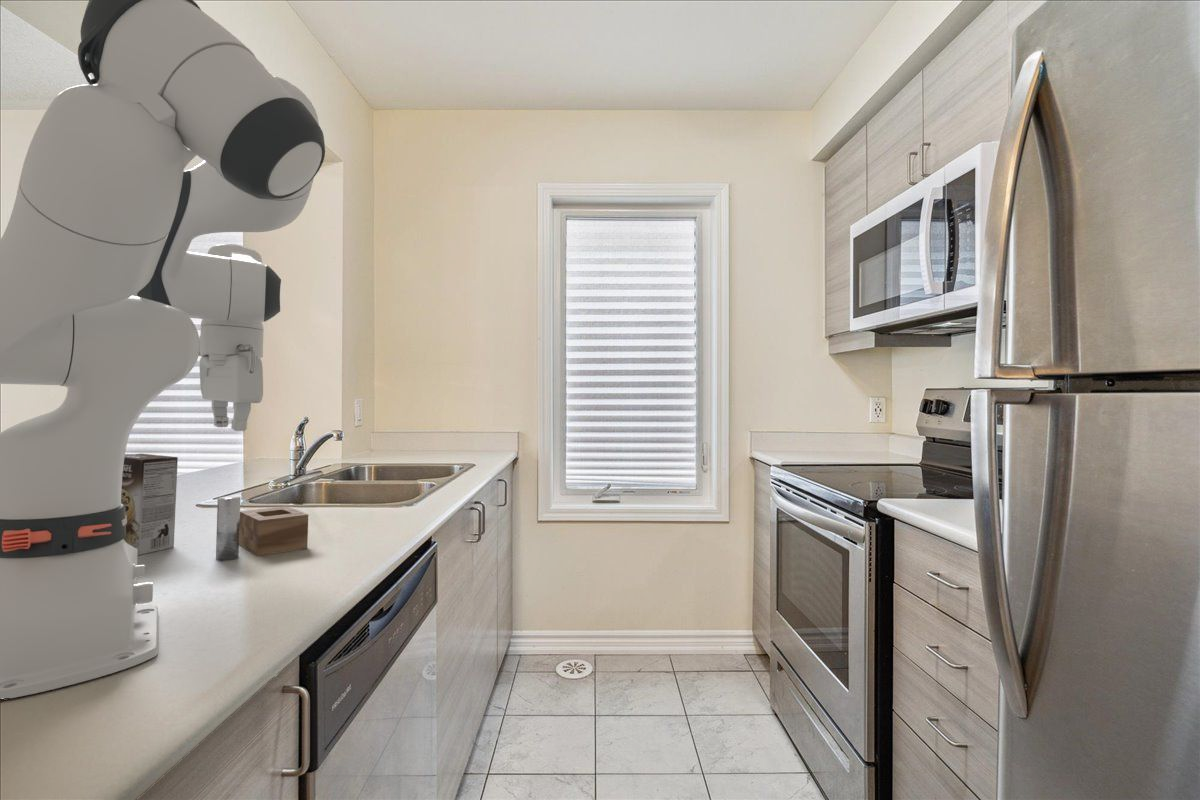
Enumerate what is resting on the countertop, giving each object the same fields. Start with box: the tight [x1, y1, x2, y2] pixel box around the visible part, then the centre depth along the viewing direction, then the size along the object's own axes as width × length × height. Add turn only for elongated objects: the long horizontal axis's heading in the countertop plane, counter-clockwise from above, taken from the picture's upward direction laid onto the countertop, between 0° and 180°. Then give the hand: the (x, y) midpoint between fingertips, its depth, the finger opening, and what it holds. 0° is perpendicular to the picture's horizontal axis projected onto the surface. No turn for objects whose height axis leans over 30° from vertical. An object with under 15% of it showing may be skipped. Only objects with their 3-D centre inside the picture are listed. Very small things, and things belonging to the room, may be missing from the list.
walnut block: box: [239, 505, 309, 557], centre depth 104 cm, size 10×8×6 cm
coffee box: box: [121, 453, 179, 556], centre depth 100 cm, size 9×6×16 cm
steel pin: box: [215, 495, 241, 562], centre depth 96 cm, size 3×3×10 cm
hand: (229, 429), depth 96 cm, fingers open, 8 cm apart
